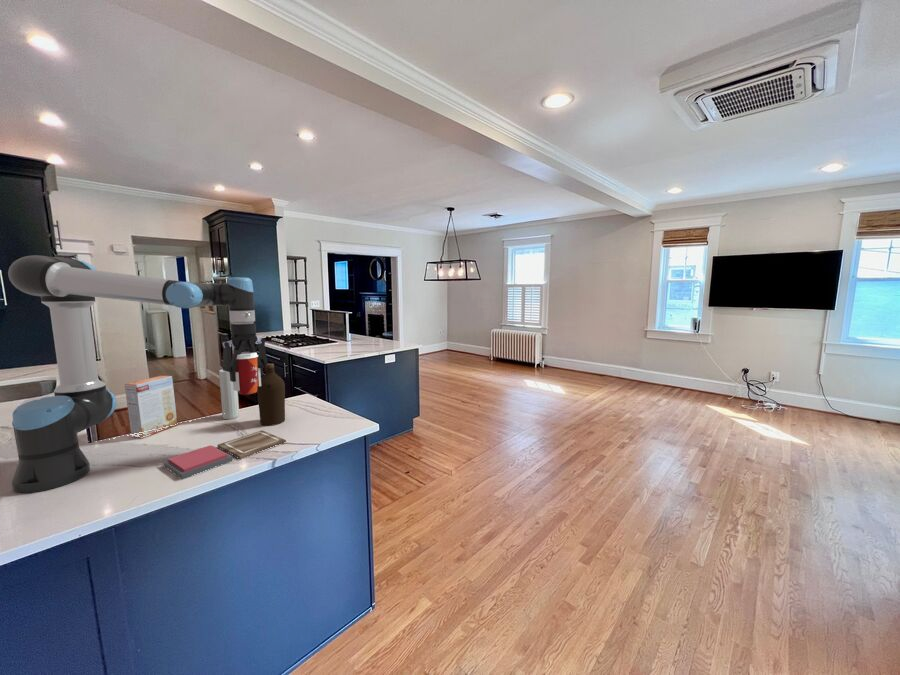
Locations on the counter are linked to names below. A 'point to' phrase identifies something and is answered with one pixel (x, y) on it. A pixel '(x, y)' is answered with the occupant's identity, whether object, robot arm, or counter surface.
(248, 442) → the marked board
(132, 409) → the cracker box
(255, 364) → the paper cup
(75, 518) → the counter surface
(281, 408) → the olive oil
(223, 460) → the ink pad
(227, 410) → the paper towel roll
